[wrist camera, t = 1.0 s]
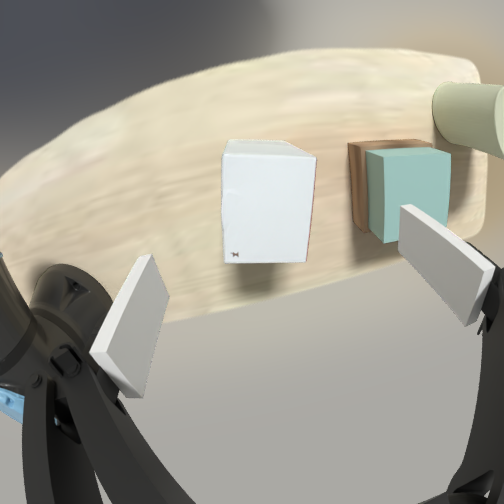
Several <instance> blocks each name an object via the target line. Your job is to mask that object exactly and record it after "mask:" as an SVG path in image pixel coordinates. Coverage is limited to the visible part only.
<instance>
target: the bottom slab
mask: <svg viewBox="0 0 504 504" xmlns="http://www.w3.org/2000/svg"><path fill="white" fill-rule="evenodd" d="M416 147H431V148H432V143H429V142H425V141H421V140H417V139H403V140H381V141H365V142H353V143H348V150H349V161H350V173H351V187H352V206H353V222H354V223H355V224H356V225H357V226H358V227H359V228H360V229H361V230H362V231H363V232H364V233H367V232H372V231H371V230H370V229H369V228H368V182H367V165H366V150H379V149H395V148H416Z"/></svg>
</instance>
